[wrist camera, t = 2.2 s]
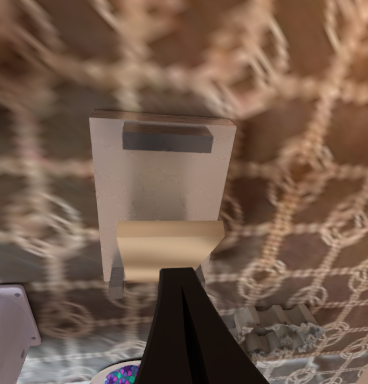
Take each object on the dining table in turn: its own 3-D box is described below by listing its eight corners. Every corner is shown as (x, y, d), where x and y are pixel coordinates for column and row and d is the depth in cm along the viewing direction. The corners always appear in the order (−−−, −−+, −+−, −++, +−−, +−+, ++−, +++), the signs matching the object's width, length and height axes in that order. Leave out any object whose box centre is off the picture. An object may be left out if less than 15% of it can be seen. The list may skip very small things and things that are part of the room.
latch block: (201, 260, 25) (210, 295, 21) (107, 263, 23) (100, 301, 20) (227, 118, 18) (247, 136, 14) (95, 109, 16) (82, 127, 13)
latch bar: (185, 271, 22) (186, 280, 22) (127, 273, 21) (127, 283, 21) (223, 220, 12) (225, 236, 12) (117, 220, 11) (116, 237, 11)
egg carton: (221, 336, 33) (229, 371, 30) (238, 300, 29) (250, 334, 26) (292, 335, 35) (308, 367, 32) (316, 301, 32) (337, 333, 28)
